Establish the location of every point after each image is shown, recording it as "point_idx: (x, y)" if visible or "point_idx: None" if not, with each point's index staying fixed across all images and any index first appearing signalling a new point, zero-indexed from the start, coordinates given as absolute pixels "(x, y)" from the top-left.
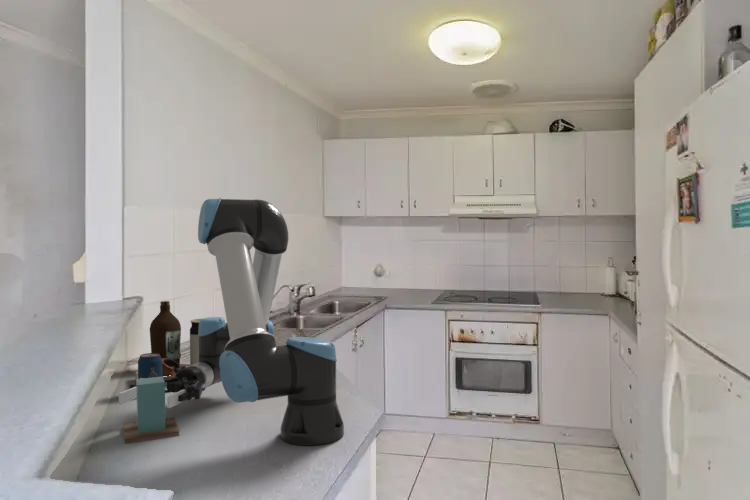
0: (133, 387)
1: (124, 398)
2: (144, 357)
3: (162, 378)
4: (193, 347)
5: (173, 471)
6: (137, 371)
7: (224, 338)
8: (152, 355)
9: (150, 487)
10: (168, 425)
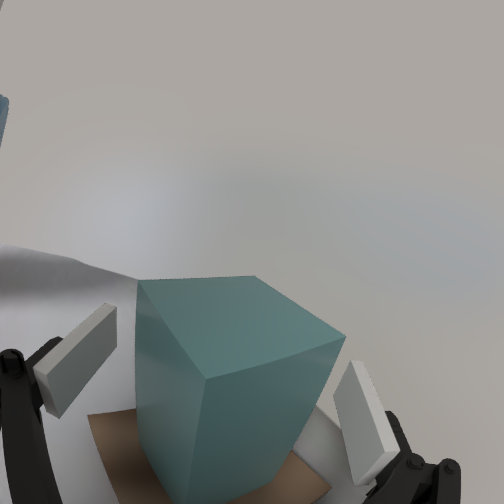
0: (391, 431)
1: (343, 393)
2: None
3: (178, 330)
4: None
5: (88, 289)
6: None
7: None
8: None
9: (113, 272)
10: (141, 476)
